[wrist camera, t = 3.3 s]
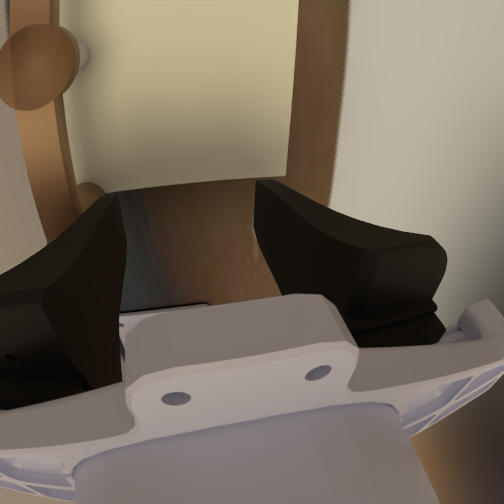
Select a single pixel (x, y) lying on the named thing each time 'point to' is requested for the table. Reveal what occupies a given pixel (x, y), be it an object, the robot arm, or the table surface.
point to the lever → (44, 109)
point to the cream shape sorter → (179, 90)
